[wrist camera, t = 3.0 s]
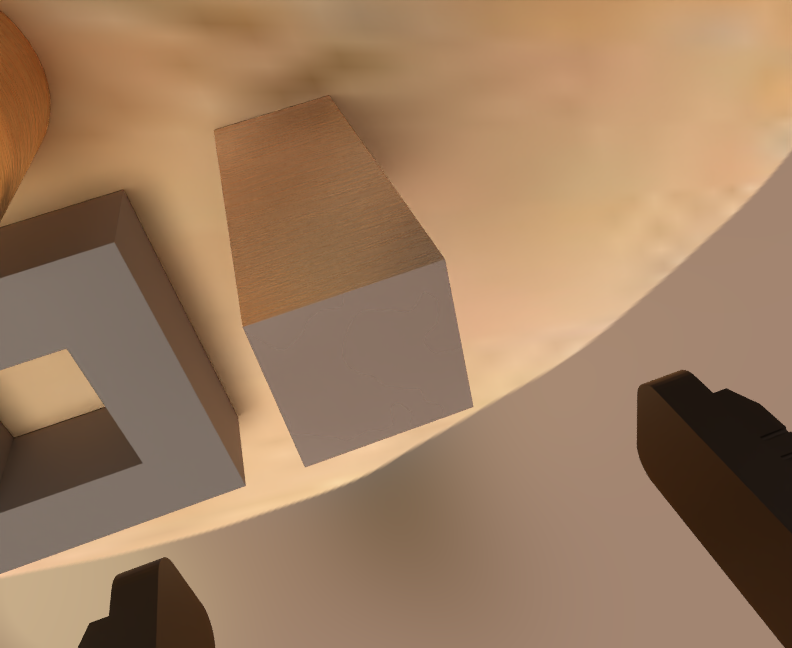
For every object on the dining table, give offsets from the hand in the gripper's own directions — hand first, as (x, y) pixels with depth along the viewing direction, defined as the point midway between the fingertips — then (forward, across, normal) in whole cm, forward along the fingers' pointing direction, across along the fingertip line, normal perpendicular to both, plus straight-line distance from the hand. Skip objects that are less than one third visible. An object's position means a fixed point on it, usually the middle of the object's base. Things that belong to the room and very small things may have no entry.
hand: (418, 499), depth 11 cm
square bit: (+15, 0, 0) cm, 16 cm away
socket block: (+15, +11, +4) cm, 19 cm away
